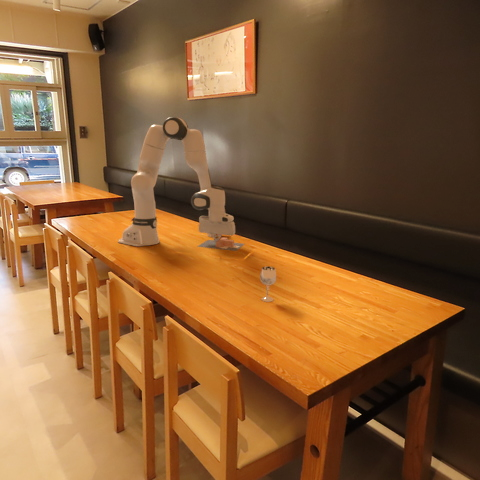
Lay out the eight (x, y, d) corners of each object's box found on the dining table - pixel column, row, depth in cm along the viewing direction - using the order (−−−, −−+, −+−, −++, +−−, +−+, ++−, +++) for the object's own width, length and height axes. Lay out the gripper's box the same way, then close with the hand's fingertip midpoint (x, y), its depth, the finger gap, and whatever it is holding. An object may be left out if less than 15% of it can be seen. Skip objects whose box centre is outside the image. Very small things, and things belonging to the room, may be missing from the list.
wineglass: (265, 295, 149) (266, 264, 146) (278, 299, 145) (279, 268, 142) (256, 299, 144) (257, 268, 141) (269, 303, 141) (270, 272, 138)
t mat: (197, 247, 210) (197, 246, 210) (208, 240, 224) (208, 239, 224) (235, 252, 203) (235, 250, 203) (244, 244, 217) (244, 243, 217)
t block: (215, 247, 209) (215, 241, 209) (222, 242, 218) (222, 237, 218) (229, 248, 207) (229, 243, 206) (236, 244, 216) (236, 238, 215)
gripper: (196, 216, 211) (196, 241, 214) (232, 219, 204) (232, 245, 208) (201, 214, 217) (201, 238, 220) (236, 217, 210) (236, 242, 214)
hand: (216, 241), depth 214 cm, fingers closed
